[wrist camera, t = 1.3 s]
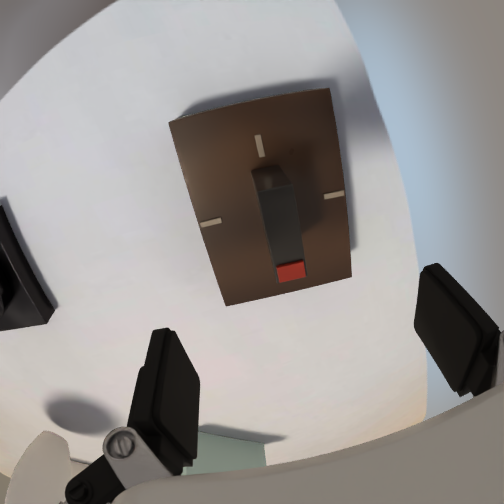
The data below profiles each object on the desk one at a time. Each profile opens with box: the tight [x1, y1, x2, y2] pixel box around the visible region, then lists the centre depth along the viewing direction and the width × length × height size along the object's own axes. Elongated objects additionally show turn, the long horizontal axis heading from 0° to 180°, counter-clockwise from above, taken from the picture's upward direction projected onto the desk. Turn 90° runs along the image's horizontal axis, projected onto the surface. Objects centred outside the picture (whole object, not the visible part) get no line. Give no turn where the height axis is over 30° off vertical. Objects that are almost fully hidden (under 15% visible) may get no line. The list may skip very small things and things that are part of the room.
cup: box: [5, 431, 72, 504], centre depth 28 cm, size 10×10×22 cm
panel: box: [169, 88, 352, 306], centre depth 21 cm, size 14×10×3 cm
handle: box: [251, 165, 308, 283], centre depth 18 cm, size 6×2×5 cm, turn 12°
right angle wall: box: [182, 431, 266, 475], centre depth 38 cm, size 12×12×8 cm
